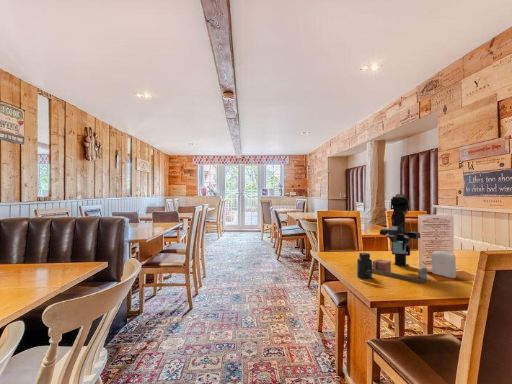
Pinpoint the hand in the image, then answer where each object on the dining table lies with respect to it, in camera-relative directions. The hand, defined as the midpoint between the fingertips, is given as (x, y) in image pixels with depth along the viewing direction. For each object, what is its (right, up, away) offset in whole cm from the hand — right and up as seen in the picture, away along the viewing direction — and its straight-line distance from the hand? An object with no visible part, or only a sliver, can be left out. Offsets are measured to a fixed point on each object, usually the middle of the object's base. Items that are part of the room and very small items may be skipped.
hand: (399, 250), depth 148 cm
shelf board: (-5, -11, -10) cm, 16 cm away
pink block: (-10, -11, -4) cm, 15 cm away
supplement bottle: (-23, -11, -12) cm, 28 cm away
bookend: (+1, -10, -18) cm, 21 cm away
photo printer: (+17, -11, -9) cm, 23 cm away
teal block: (0, -1, 0) cm, 1 cm away
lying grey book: (-8, -12, +9) cm, 17 cm away
